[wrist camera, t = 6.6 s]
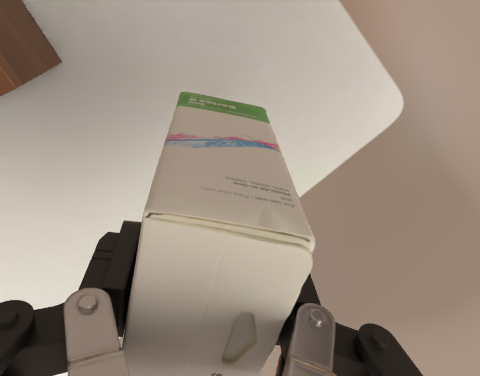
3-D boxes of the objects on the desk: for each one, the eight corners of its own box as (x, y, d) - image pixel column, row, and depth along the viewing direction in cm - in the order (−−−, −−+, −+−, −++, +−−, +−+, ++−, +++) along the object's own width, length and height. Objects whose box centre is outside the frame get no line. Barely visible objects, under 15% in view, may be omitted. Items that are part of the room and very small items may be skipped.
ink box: (231, 228, 23) (252, 418, 13) (153, 217, 22) (111, 412, 12) (268, 105, 19) (337, 244, 9) (174, 84, 18) (136, 215, 8)
